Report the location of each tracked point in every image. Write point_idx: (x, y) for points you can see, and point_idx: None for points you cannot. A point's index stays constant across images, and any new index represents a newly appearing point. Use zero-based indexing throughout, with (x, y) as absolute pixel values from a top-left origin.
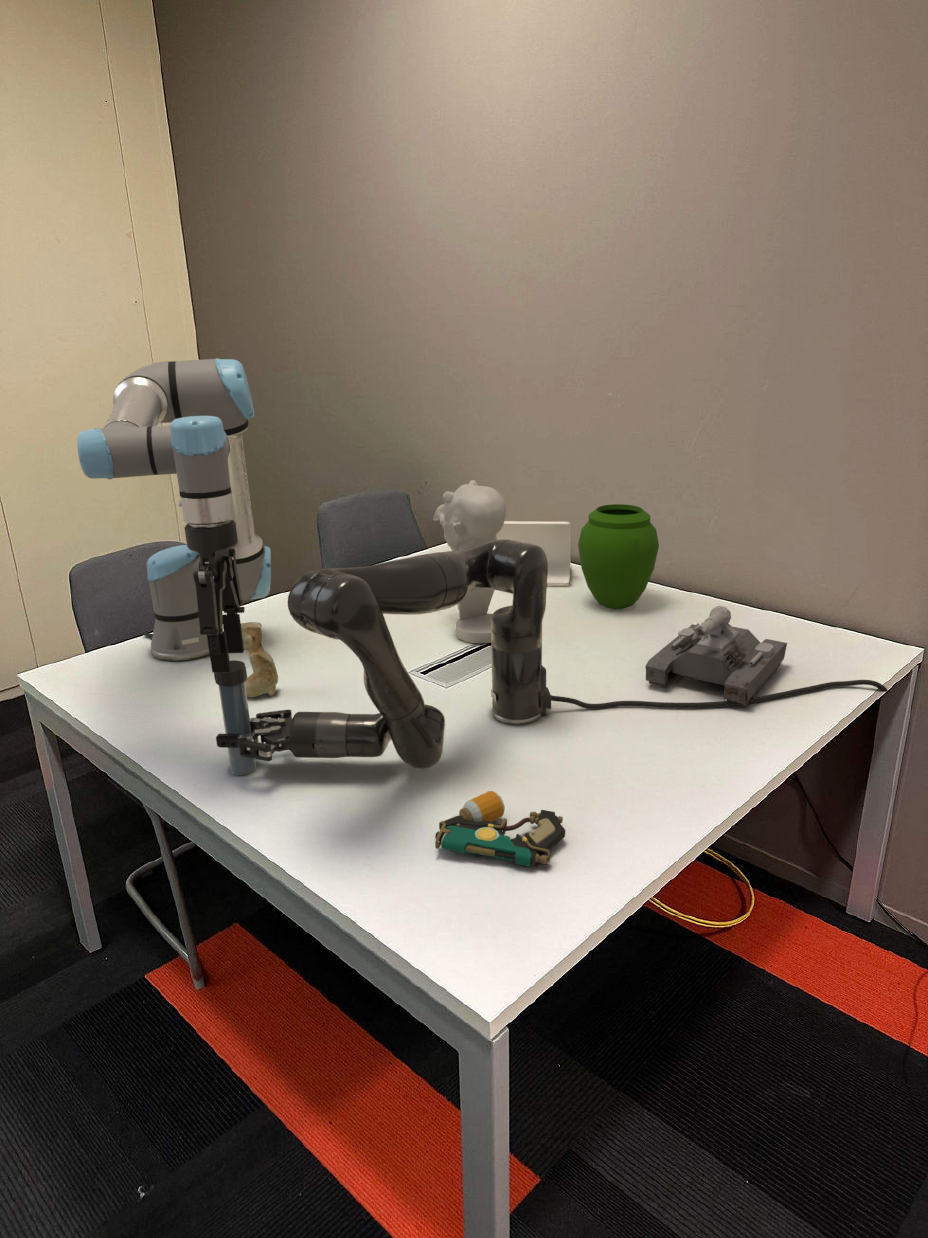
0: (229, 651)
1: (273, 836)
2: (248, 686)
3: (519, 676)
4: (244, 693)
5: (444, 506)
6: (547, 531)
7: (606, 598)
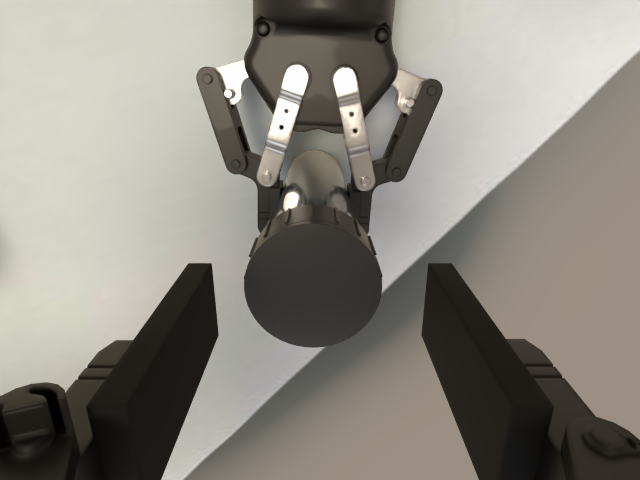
0: (214, 327)
1: (591, 37)
2: None
3: None
4: (325, 200)
5: None
6: None
7: None
